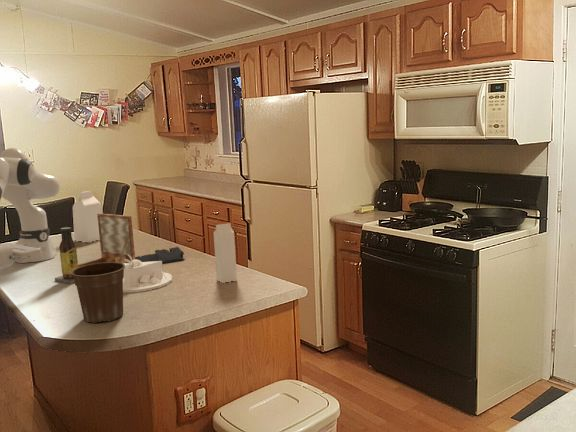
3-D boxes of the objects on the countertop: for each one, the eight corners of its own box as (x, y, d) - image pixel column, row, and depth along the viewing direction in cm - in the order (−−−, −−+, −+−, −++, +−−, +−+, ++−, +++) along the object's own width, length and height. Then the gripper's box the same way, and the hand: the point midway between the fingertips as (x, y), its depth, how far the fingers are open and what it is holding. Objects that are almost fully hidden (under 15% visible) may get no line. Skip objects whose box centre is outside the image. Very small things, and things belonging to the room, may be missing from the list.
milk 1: (88, 242, 294) (83, 193, 289) (74, 241, 300) (69, 192, 295) (107, 238, 304) (102, 190, 299) (93, 236, 310) (88, 189, 305)
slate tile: (54, 280, 224) (54, 278, 224) (75, 274, 233) (75, 271, 233) (71, 284, 219) (70, 281, 219) (92, 277, 228) (91, 274, 227)
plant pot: (65, 323, 176) (59, 273, 173) (99, 306, 191) (94, 260, 188) (107, 328, 170) (102, 277, 167) (139, 310, 185) (135, 263, 182)
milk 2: (237, 281, 214) (234, 224, 210) (222, 283, 211) (219, 226, 207) (230, 277, 219) (227, 221, 215) (216, 280, 216) (212, 223, 212)
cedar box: (70, 272, 236) (64, 220, 232) (104, 262, 251) (99, 213, 247) (102, 278, 226) (96, 223, 222) (136, 267, 241) (131, 216, 237)
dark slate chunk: (129, 262, 252) (128, 251, 251) (177, 254, 262) (176, 244, 262) (139, 269, 239) (138, 258, 238) (188, 261, 249) (187, 250, 248)
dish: (113, 297, 201) (110, 267, 199) (101, 281, 223) (98, 253, 221) (180, 285, 212) (178, 256, 210) (162, 270, 234) (160, 244, 232)
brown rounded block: (113, 269, 238) (112, 258, 238) (121, 266, 242) (120, 255, 241) (121, 270, 236) (119, 259, 235) (129, 268, 240) (127, 256, 239)
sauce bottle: (74, 279, 221) (68, 229, 218) (59, 279, 222) (53, 230, 219) (82, 274, 228) (76, 226, 224) (68, 274, 229) (62, 226, 225)
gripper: (18, 251, 196) (53, 241, 208) (-15, 244, 207) (19, 236, 219) (21, 268, 198) (55, 258, 209) (-13, 261, 208) (21, 252, 220)
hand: (36, 247), depth 214 cm, fingers open, 8 cm apart
